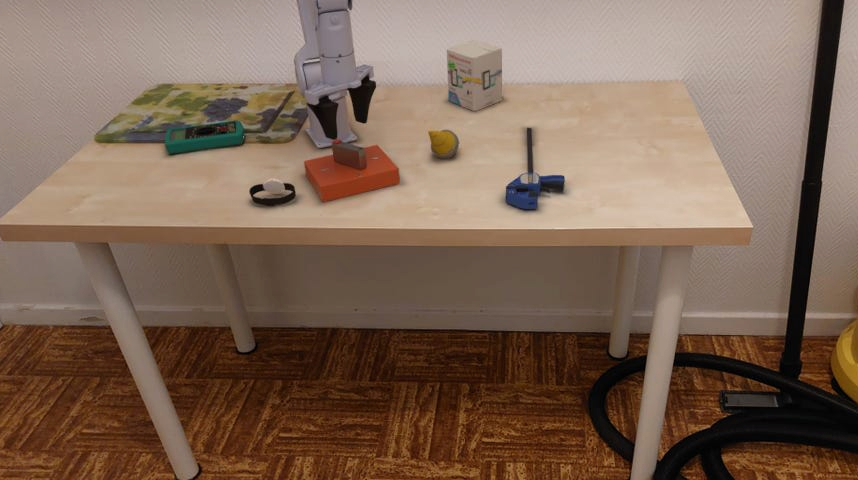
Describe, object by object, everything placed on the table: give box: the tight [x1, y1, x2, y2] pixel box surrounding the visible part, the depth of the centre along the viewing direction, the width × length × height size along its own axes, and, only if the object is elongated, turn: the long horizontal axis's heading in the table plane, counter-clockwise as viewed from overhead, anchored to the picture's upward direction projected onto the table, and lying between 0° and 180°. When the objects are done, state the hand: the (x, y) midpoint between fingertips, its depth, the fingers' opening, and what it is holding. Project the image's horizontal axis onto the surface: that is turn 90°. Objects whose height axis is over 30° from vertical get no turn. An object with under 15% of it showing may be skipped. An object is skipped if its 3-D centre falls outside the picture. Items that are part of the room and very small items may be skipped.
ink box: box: [446, 39, 503, 112], centre depth 157 cm, size 8×8×12 cm
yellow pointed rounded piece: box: [427, 129, 460, 160], centre depth 136 cm, size 5×5×10 cm
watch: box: [248, 177, 297, 207], centre depth 126 cm, size 8×5×4 cm, turn 91°
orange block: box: [303, 144, 401, 203], centre depth 131 cm, size 14×11×3 cm
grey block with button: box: [331, 139, 367, 170], centre depth 129 cm, size 6×2×4 cm, turn 55°
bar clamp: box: [505, 127, 566, 210], centre depth 134 cm, size 32×2×10 cm
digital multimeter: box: [164, 119, 246, 155], centre depth 146 cm, size 7×15×3 cm, turn 105°
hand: (346, 129), depth 128 cm, fingers open, 7 cm apart
